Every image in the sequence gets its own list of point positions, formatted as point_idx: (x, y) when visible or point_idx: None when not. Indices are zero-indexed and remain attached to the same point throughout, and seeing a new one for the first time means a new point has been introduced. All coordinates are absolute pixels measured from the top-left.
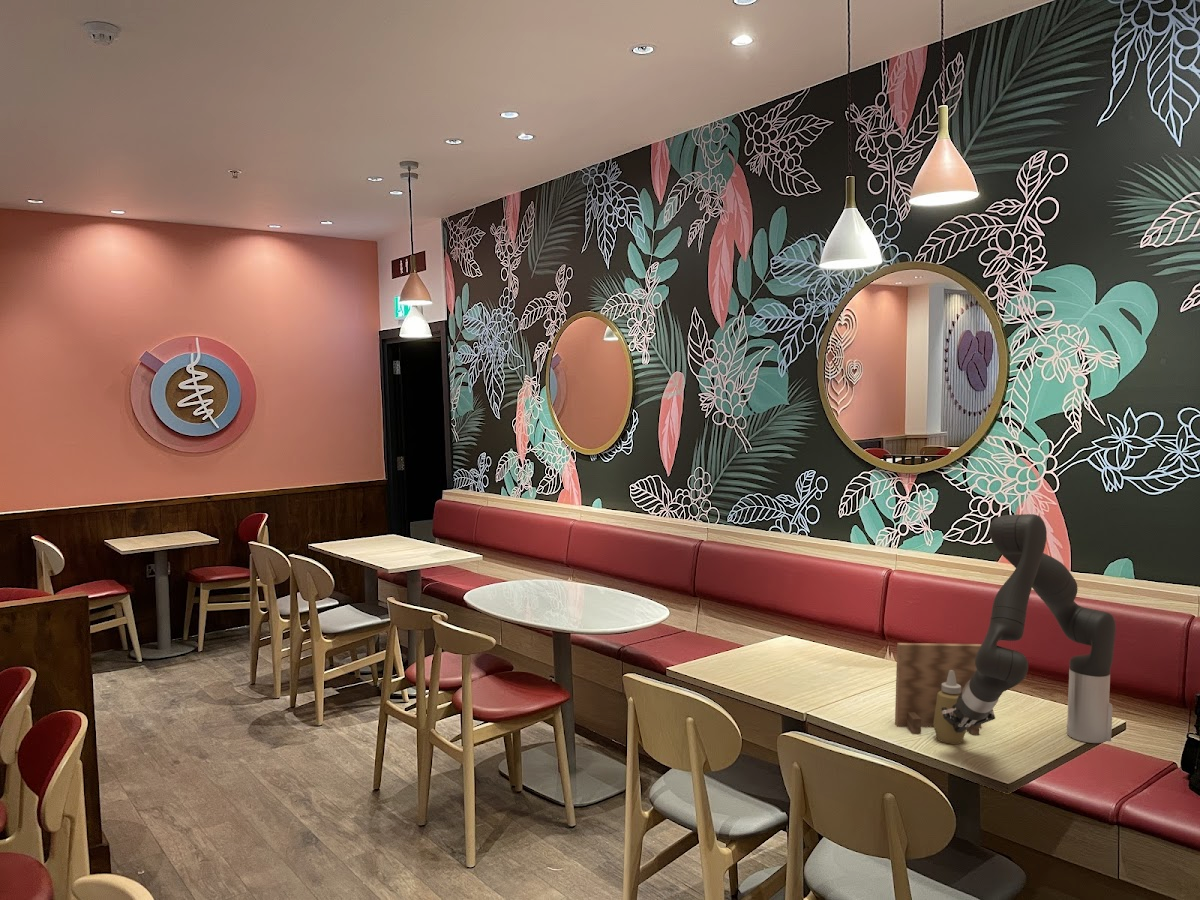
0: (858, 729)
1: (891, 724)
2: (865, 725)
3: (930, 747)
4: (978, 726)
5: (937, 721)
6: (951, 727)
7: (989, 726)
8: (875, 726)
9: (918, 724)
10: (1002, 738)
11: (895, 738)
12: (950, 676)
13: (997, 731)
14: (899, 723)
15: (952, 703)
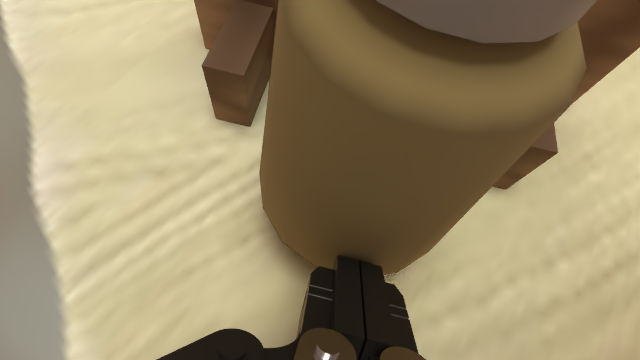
0: (18, 32)
1: (199, 27)
2: (86, 11)
3: (182, 275)
4: (528, 168)
5: (263, 165)
6: (315, 254)
7: (578, 123)
8: (118, 26)
9: (234, 93)
10: (599, 242)
11: (95, 140)
12: None
13: (597, 170)
14: (211, 38)
15: (366, 151)
